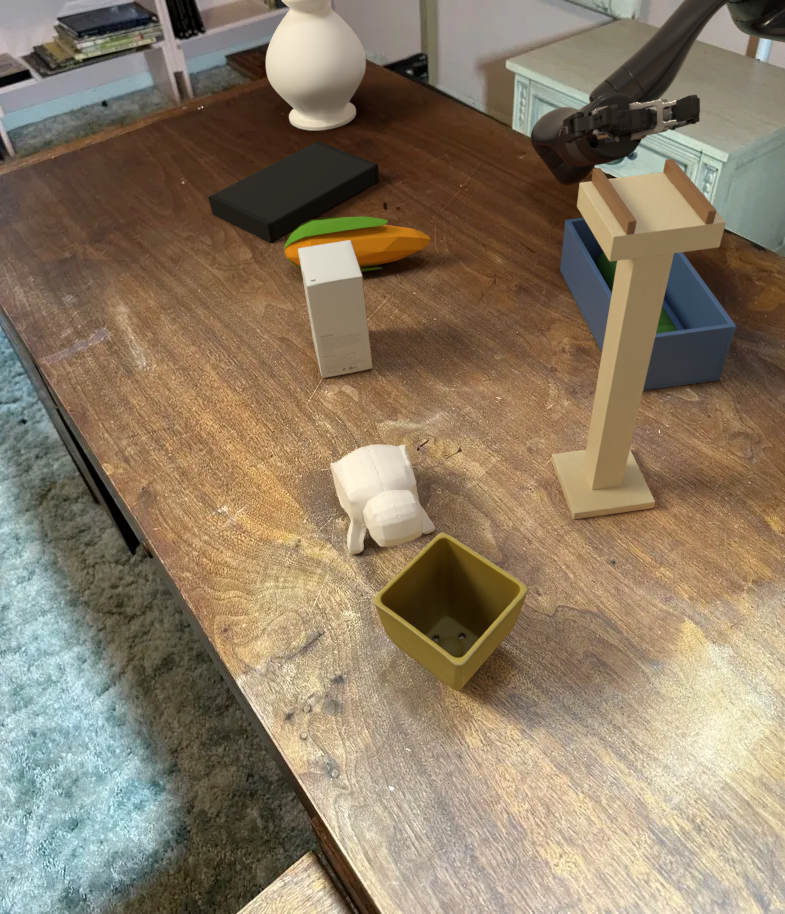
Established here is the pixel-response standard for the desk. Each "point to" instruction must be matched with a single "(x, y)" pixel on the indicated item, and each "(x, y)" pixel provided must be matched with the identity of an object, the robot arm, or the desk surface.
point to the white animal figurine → (380, 496)
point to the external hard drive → (293, 190)
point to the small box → (336, 307)
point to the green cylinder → (608, 274)
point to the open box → (686, 302)
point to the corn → (358, 239)
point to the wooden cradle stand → (630, 323)
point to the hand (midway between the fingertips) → (654, 110)
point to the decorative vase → (315, 65)
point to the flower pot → (450, 609)
